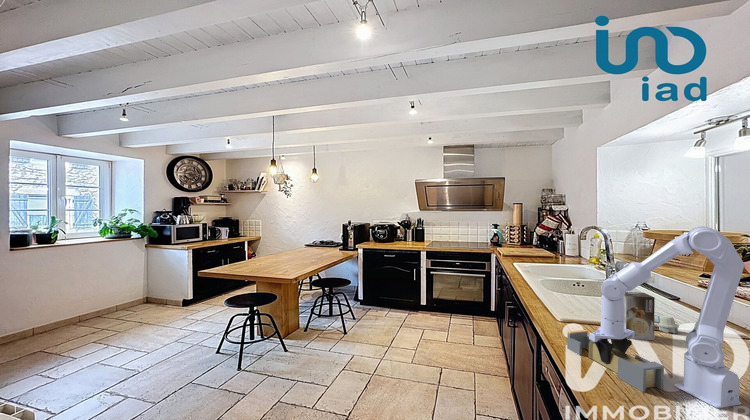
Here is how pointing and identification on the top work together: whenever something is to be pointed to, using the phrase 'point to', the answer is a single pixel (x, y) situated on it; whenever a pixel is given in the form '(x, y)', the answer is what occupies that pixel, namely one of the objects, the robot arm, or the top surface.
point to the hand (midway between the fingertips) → (611, 361)
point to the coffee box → (639, 314)
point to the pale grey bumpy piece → (666, 323)
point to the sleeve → (640, 373)
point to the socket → (578, 341)
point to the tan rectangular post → (614, 362)
